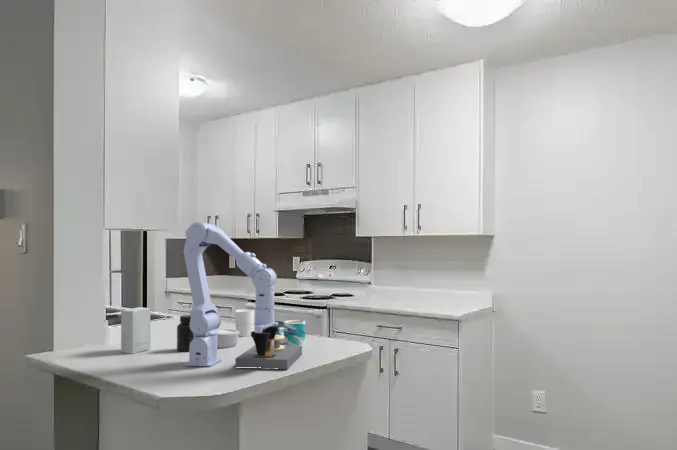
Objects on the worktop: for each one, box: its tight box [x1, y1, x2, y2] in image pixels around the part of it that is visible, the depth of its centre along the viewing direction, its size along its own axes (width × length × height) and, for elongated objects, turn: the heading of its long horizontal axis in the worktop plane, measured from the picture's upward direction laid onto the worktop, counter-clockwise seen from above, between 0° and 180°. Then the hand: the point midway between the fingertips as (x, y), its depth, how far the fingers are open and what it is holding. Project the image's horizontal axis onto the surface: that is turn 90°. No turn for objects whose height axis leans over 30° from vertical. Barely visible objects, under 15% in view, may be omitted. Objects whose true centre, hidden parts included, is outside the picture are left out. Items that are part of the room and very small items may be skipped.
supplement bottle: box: [176, 314, 194, 353], centre depth 182 cm, size 7×7×12 cm
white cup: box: [234, 308, 256, 338], centre depth 210 cm, size 8×8×10 cm
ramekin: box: [217, 328, 239, 349], centre depth 190 cm, size 11×11×5 cm
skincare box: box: [120, 306, 151, 355], centre depth 181 cm, size 8×6×15 cm
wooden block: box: [257, 339, 274, 358], centre depth 158 cm, size 3×4×8 cm, turn 81°
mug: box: [276, 319, 307, 347], centre depth 190 cm, size 8×12×8 cm
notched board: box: [235, 334, 303, 370], centre depth 164 cm, size 20×16×7 cm
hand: (265, 352), depth 158 cm, fingers open, 7 cm apart
